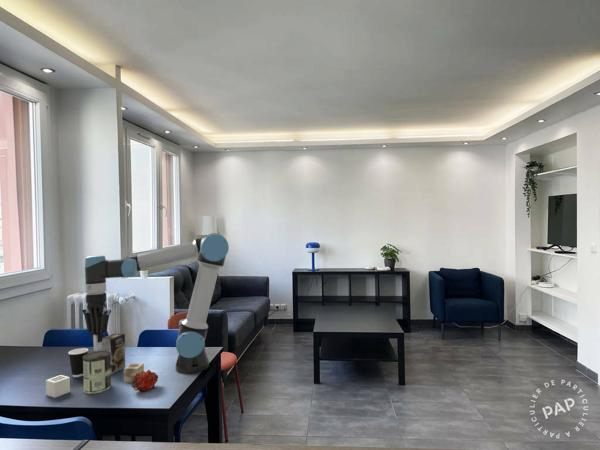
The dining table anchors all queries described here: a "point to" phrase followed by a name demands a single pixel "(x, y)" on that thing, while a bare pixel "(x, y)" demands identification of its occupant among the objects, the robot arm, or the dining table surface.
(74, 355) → the dixie cup
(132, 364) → the birch block
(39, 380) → the dining table surface
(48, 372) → the dining table surface
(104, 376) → the coffee can
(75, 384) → the dining table surface
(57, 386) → the off-white block
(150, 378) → the dragon fruit
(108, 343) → the coffee box
